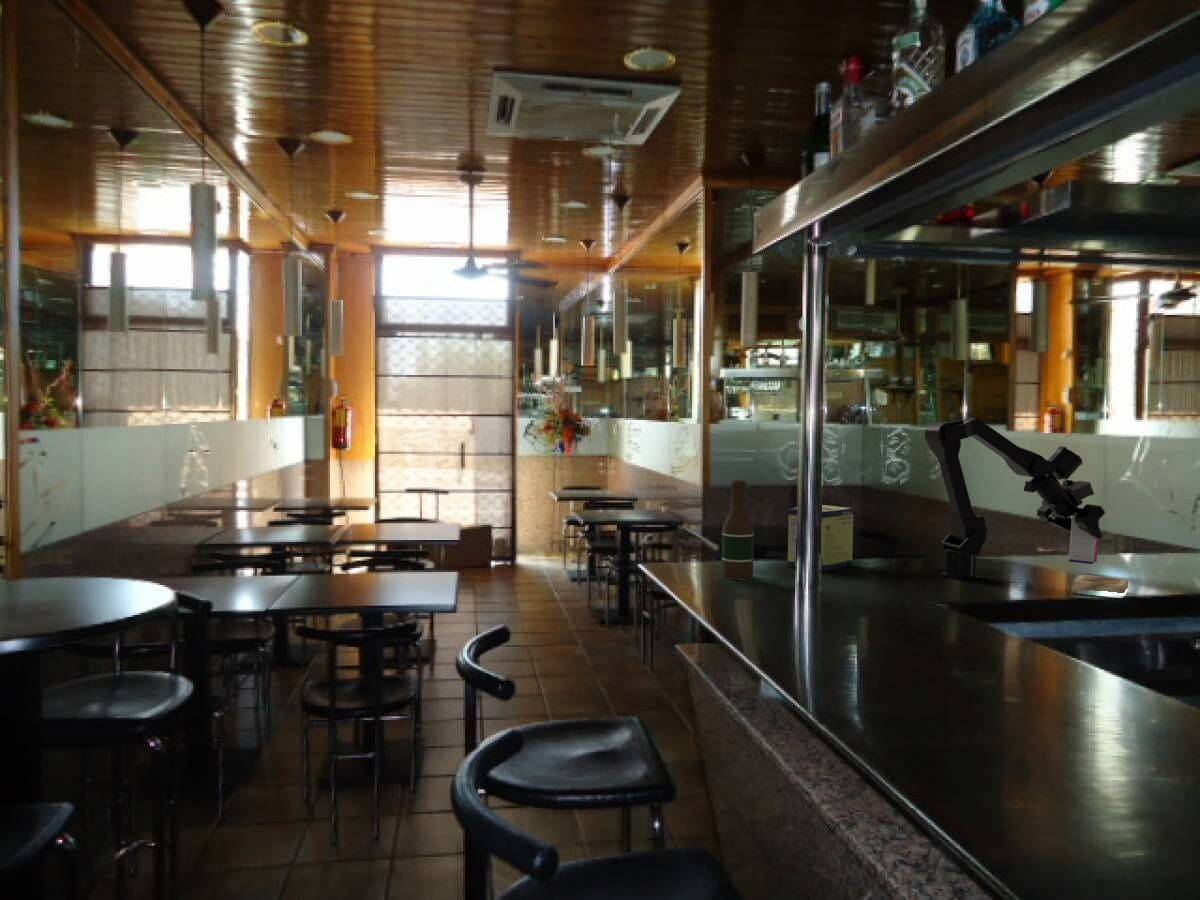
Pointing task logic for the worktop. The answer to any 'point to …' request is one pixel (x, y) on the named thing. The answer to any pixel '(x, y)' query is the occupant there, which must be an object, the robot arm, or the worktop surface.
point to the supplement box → (1082, 545)
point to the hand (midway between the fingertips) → (1089, 535)
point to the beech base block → (1100, 583)
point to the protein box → (828, 536)
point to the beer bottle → (737, 536)
